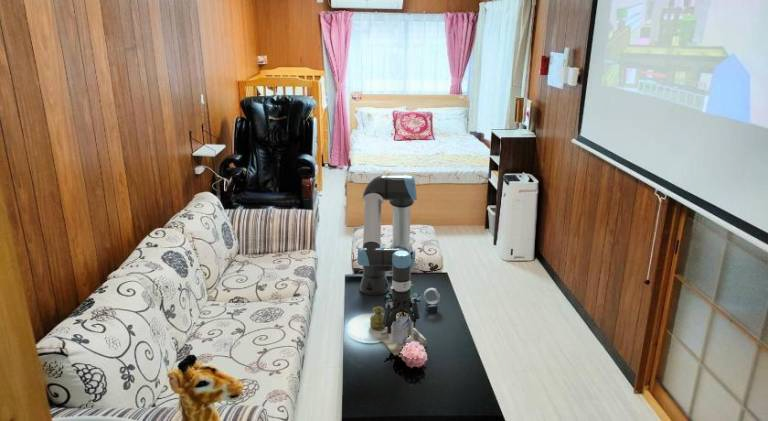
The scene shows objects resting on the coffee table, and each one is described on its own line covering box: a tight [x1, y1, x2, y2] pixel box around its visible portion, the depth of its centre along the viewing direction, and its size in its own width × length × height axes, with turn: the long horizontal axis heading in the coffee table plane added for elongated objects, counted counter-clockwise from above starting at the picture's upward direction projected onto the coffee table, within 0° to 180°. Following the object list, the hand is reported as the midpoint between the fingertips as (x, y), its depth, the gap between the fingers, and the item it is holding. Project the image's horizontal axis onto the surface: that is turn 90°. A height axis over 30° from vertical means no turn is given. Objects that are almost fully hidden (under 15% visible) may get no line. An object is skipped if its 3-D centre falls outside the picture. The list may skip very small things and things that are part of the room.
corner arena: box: [379, 327, 428, 356], centre depth 223 cm, size 14×15×4 cm
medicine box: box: [392, 315, 410, 344], centre depth 220 cm, size 8×4×9 cm, turn 155°
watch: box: [423, 287, 441, 314], centre depth 251 cm, size 6×8×11 cm
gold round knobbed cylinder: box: [369, 305, 387, 332], centre depth 235 cm, size 7×7×10 cm
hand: (401, 337), depth 221 cm, fingers closed on medicine box, 9 cm apart
